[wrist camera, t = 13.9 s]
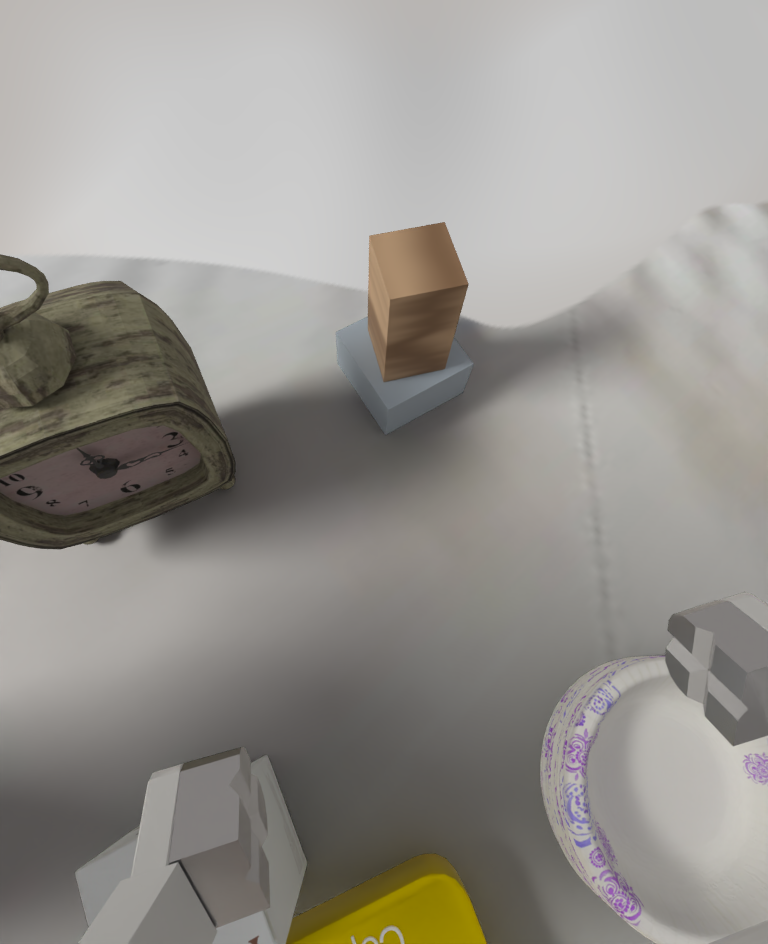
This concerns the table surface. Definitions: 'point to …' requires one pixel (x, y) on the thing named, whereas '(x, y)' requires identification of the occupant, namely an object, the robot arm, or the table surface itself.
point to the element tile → (396, 910)
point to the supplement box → (265, 932)
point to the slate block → (399, 396)
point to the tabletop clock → (99, 415)
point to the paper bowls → (657, 804)
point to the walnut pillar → (413, 299)
